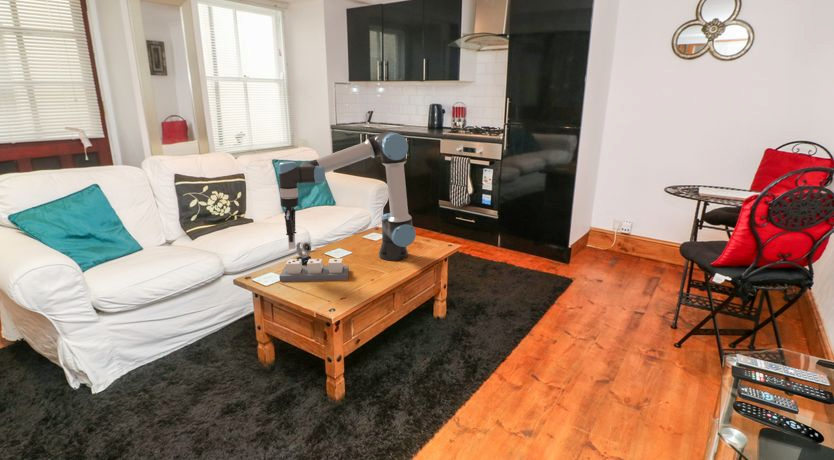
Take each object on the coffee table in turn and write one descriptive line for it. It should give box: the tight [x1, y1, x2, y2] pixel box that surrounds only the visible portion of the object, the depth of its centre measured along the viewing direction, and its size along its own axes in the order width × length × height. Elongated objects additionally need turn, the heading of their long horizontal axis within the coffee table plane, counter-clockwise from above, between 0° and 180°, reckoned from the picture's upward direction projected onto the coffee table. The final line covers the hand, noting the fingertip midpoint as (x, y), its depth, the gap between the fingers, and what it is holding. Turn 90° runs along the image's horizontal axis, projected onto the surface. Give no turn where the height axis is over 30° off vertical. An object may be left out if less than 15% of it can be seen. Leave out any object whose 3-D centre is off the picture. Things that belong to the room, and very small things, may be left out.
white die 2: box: [327, 257, 344, 273], centre depth 209 cm, size 6×6×5 cm
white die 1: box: [285, 258, 303, 274], centre depth 207 cm, size 6×6×5 cm
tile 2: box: [306, 258, 323, 274], centre depth 208 cm, size 6×6×5 cm
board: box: [279, 265, 350, 282], centre depth 209 cm, size 30×12×2 cm, turn 94°
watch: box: [295, 240, 312, 266], centre depth 225 cm, size 6×8×11 cm
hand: (292, 248), depth 205 cm, fingers closed
